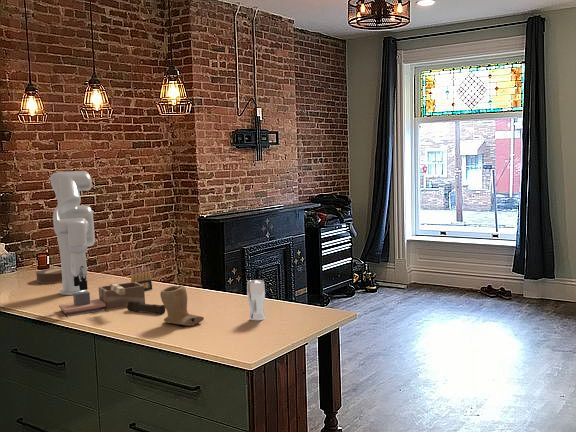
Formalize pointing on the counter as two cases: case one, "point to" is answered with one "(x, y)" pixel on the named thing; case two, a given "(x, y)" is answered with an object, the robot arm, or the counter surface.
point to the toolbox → (115, 300)
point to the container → (49, 276)
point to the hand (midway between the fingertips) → (80, 287)
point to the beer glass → (256, 299)
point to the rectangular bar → (117, 289)
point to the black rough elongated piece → (145, 307)
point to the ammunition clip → (142, 278)
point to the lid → (82, 303)
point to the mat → (84, 312)
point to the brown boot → (178, 306)
